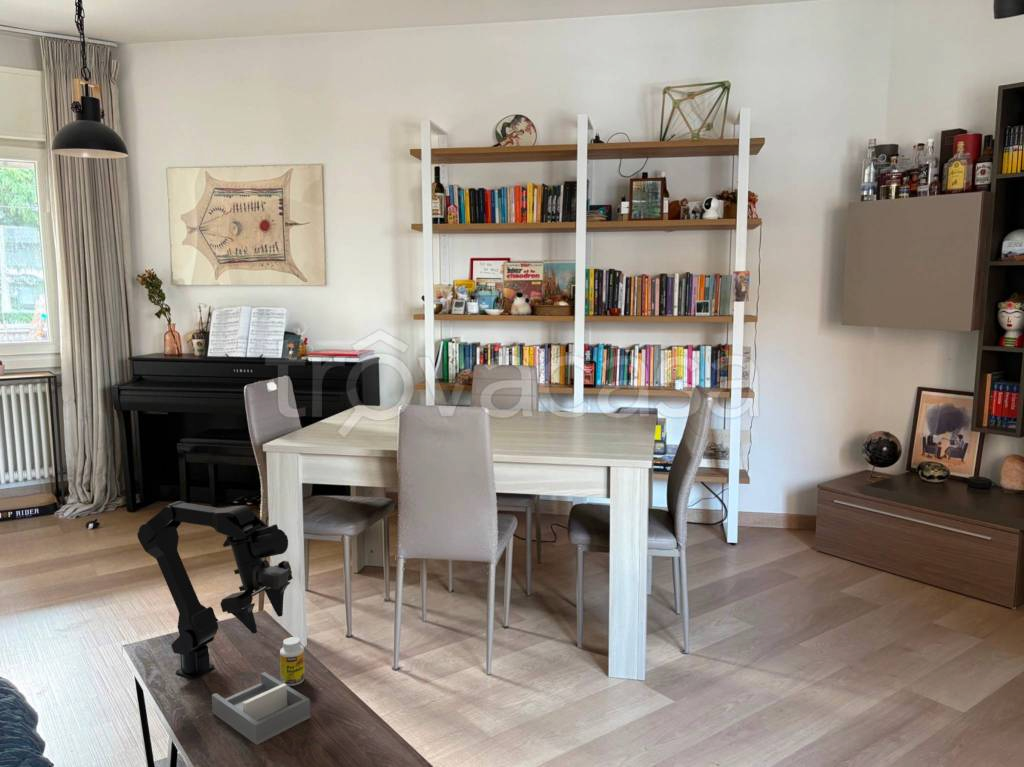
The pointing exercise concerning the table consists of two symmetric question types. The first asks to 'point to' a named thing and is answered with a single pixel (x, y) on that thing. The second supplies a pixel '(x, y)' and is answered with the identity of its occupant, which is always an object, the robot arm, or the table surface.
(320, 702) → the table surface
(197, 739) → the table surface
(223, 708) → the pusher lane
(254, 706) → the pusher plate
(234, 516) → the robot arm
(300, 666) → the supplement bottle
